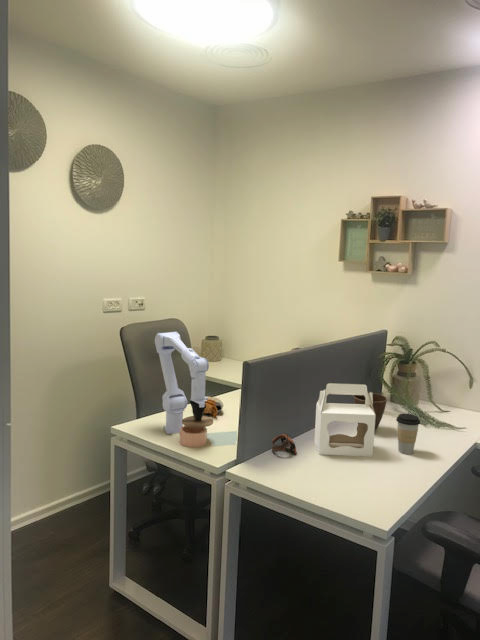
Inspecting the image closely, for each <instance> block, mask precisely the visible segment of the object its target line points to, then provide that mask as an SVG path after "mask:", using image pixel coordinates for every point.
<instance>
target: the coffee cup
mask: <svg viewBox="0 0 480 640" xmlns="http://www.w3.org/2000/svg"><path fill="white" fill-rule="evenodd" d="M395 421H396V422H397V447H398V448H397V449H398V452H399V453H400V454H403V455H412V454H413V453H414V450H415V449H414V448H415V444H416V441H417V437H418V431H419V425H421V420H420V419H419V417H418V416H417V415H415V414H411V413H399V414H398V416H396V420H395Z"/></svg>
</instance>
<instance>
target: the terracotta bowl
mask: <svg viewBox="0 0 480 640" xmlns="http://www.w3.org/2000/svg"><path fill="white" fill-rule="evenodd" d="M207 433H208V428H207V427H200V428H194V427H188V426H185V425H183V426H182V427H181V428H180V433H179V444H180V445H182V446H184V447H188V448H198V447H203V446H205V445H207V441H208V438H207Z"/></svg>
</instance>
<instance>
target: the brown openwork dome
mask: <svg viewBox="0 0 480 640" xmlns="http://www.w3.org/2000/svg"><path fill="white" fill-rule="evenodd" d="M278 440H280V442H281V443H280V444H275V443H276V442H277V441H278ZM287 447H289V450H291V451H294V454H295V455H297V453H298V452H297V446H296V444H295V442H294V440H293V439H292V438H291V437H289V435H288V434H287V433H283V434H279V435H277V436H275V437H274V438H273V439H272V442H271V451H272V452H274V453H275V452H276V453H277V452H286V448H287Z"/></svg>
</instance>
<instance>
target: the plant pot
mask: <svg viewBox="0 0 480 640" xmlns="http://www.w3.org/2000/svg"><path fill="white" fill-rule="evenodd" d="M372 393H373V408H374V411H375V414H376V418H375V431H374V433H376V432H377V430H378V427H379V425H380V423H381V421H382V418H383V415H384V413H385V409H386V406H387V401H388V398H387V397H386V396H385V395H383V394H380V393H377V392H376V393H374V392H372ZM353 404H365V396H364V395H363V396H361V395H353Z"/></svg>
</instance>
